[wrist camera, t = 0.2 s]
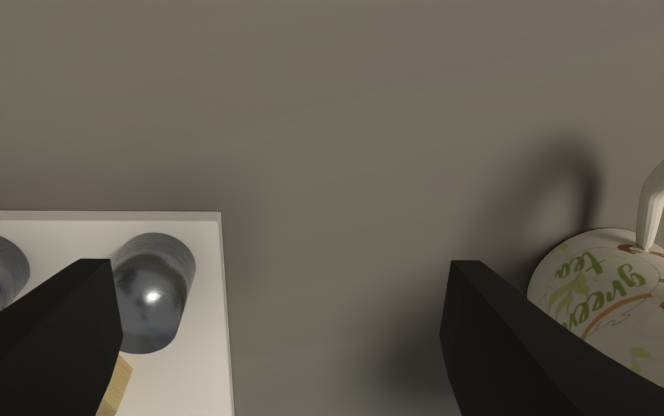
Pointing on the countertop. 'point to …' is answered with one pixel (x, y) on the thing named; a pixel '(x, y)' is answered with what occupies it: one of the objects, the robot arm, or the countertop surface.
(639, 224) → the mug
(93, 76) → the countertop surface
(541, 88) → the countertop surface
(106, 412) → the faceted gold polyhedron
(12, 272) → the spacers
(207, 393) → the plate
